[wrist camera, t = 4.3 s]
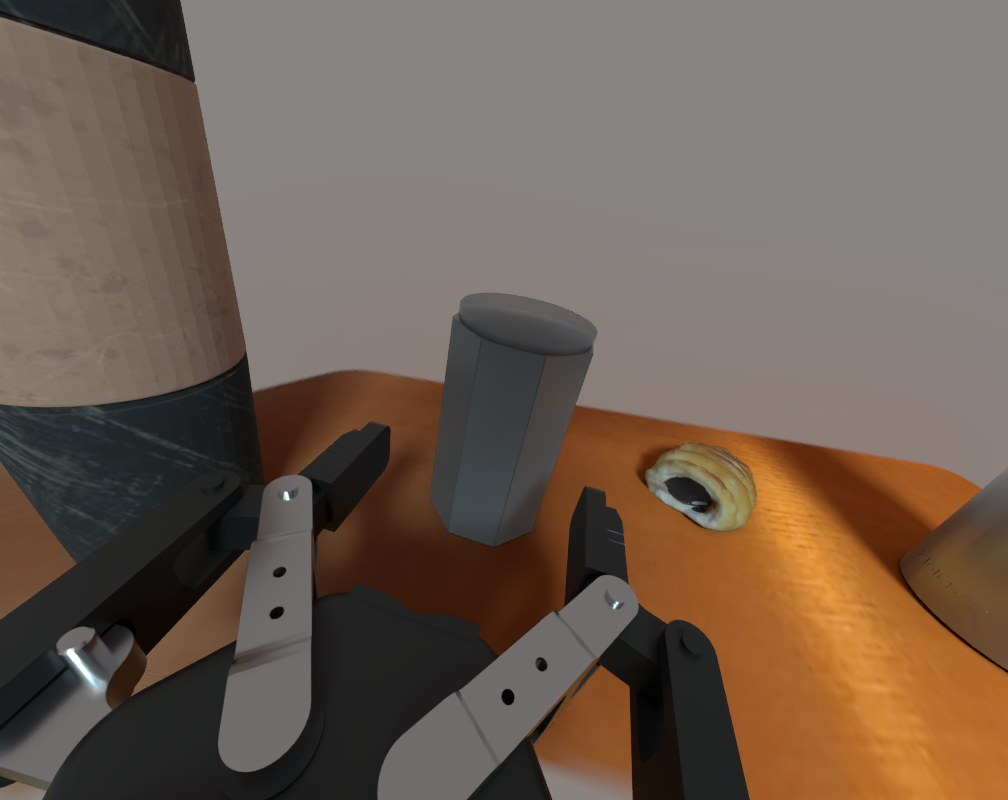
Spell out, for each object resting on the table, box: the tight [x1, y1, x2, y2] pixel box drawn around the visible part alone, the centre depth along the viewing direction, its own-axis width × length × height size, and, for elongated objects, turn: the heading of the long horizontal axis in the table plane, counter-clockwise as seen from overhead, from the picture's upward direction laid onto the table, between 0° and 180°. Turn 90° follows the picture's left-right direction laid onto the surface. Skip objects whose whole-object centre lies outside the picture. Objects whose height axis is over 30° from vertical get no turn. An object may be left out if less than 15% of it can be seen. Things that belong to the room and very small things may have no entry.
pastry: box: [645, 443, 757, 532], centre depth 27 cm, size 9×7×4 cm
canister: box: [430, 293, 597, 547], centre depth 19 cm, size 6×6×12 cm
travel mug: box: [0, 0, 264, 563], centre depth 13 cm, size 8×8×20 cm
